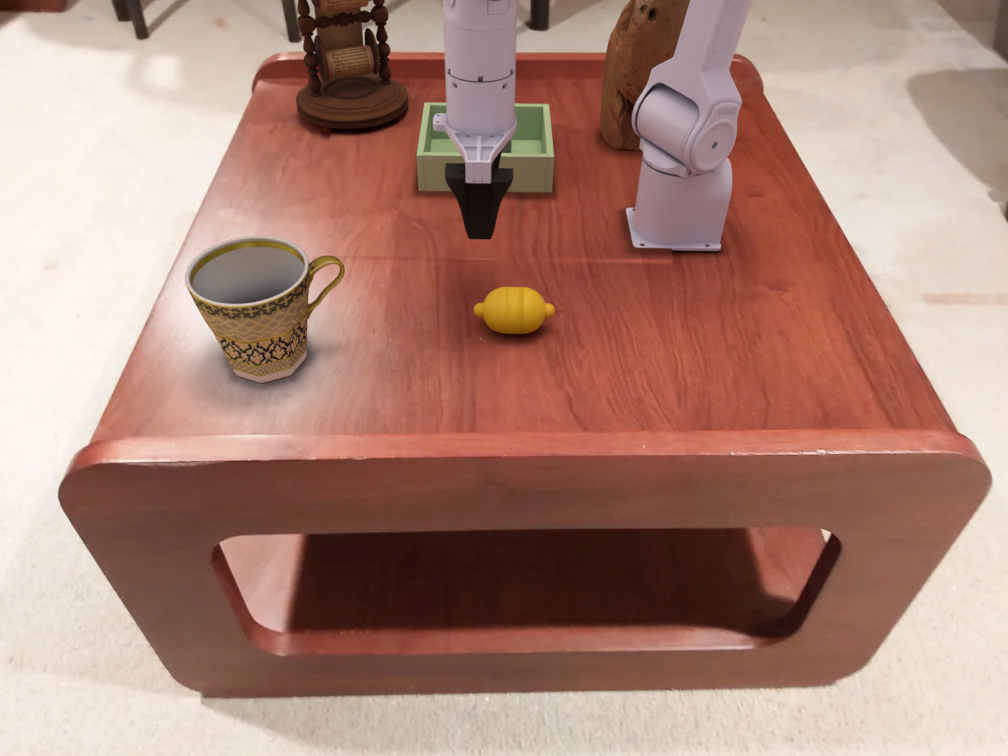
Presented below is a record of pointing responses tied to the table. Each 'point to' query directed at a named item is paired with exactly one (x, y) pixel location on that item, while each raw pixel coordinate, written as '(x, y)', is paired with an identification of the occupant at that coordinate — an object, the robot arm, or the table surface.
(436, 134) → the crate
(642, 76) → the brown upright lump
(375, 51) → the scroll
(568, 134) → the table surface
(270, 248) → the ceramic cup
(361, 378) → the table surface
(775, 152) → the table surface
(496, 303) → the lemon
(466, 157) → the robot arm
